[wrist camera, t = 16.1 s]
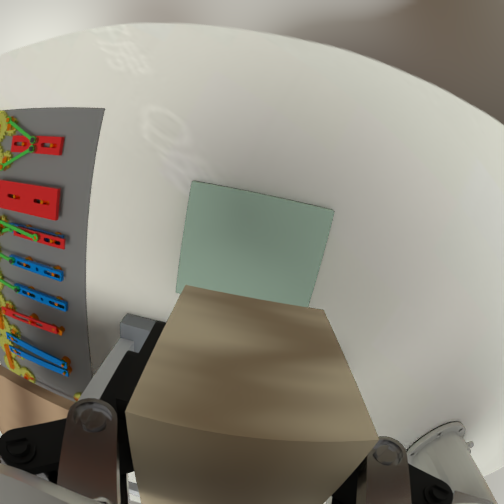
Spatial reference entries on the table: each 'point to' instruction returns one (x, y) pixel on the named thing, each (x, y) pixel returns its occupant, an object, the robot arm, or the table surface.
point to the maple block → (245, 406)
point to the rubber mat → (252, 244)
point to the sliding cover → (27, 402)
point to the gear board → (46, 244)
